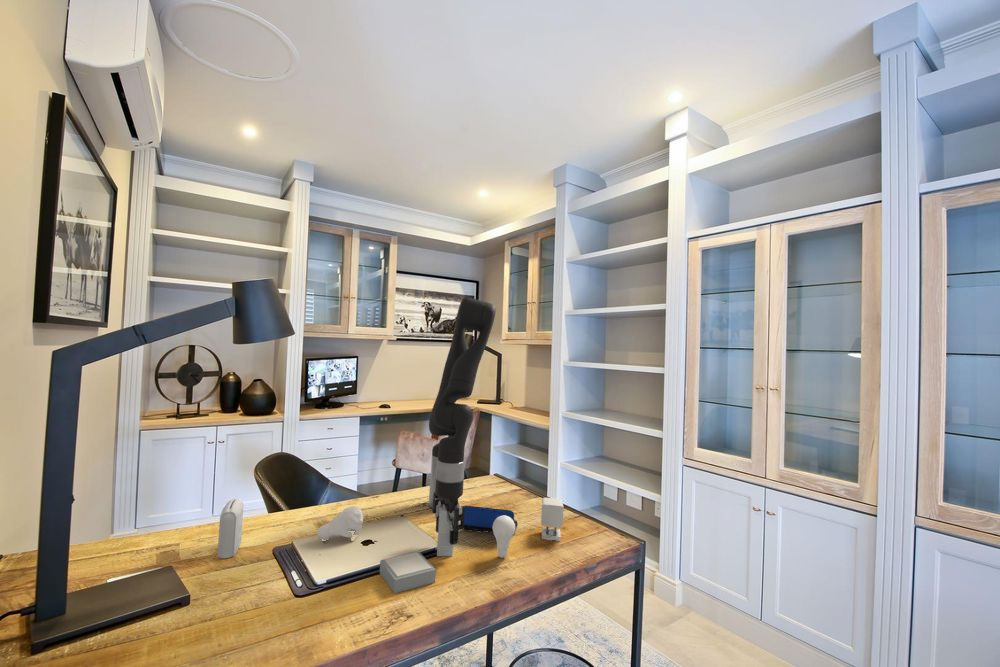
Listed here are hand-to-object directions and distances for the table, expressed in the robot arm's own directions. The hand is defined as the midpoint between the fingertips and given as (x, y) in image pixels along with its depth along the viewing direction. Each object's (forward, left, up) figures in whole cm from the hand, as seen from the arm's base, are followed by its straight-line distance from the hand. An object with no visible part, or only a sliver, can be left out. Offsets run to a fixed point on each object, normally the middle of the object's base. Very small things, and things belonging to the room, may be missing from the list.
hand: (446, 537), depth 122 cm
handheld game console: (-7, +18, -4) cm, 20 cm away
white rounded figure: (-19, -23, -4) cm, 30 cm away
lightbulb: (+10, +12, -4) cm, 16 cm away
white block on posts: (+5, +33, -4) cm, 34 cm away
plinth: (+8, -14, -4) cm, 17 cm away
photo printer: (-25, -49, -4) cm, 55 cm away
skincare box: (0, 0, -4) cm, 4 cm away
